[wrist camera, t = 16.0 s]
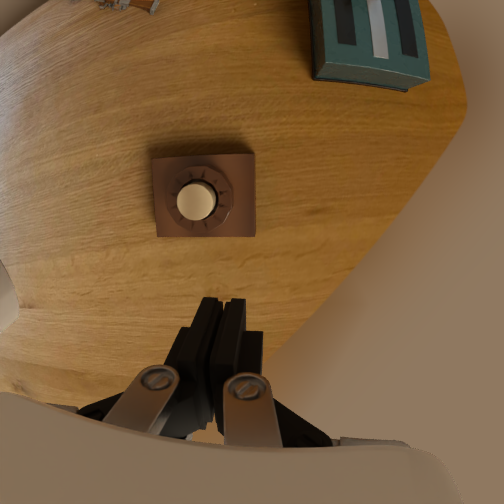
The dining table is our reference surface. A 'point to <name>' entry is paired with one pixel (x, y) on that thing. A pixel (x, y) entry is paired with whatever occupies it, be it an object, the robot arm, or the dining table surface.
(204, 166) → the control block
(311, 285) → the dining table surface
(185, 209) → the button
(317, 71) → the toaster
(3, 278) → the lumpy-topped squat cylinder
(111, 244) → the dining table surface
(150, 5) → the wooden post with brackets
